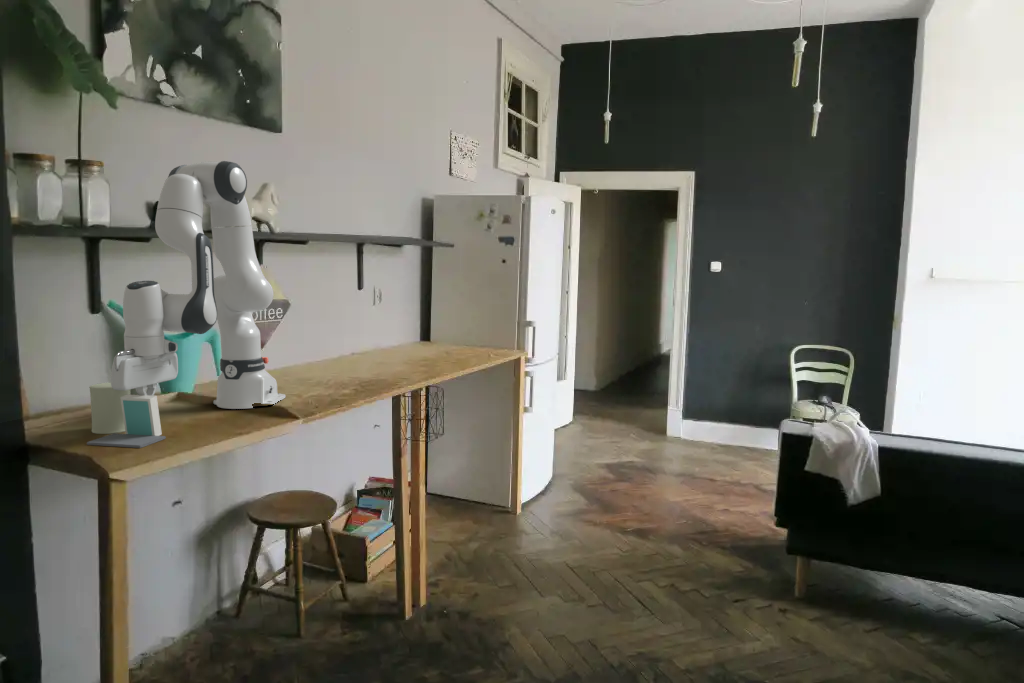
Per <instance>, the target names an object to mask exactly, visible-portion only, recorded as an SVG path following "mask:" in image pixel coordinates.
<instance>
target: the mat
mask: <svg viewBox="0 0 1024 683" xmlns="http://www.w3.org/2000/svg"><path fill="white" fill-rule="evenodd" d="M163 440H166V436H165V435H160V436H152V435H135V434H126V433H113V434H108V435H105V436H102V437H99V438H96V439H92V440H89V441H87V442H86V445H87V446H104V447H115V448H116V447H118V448H119V447H121V448H134V449H135V448H136V449H141V448H144V447H147V446H151V445H153V444H155V443H158V442H161V441H163Z"/></svg>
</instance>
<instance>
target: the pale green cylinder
mask: <svg viewBox="0 0 1024 683" xmlns="http://www.w3.org/2000/svg"><path fill="white" fill-rule="evenodd" d="M89 392H90V393H89V394H90V413H91V433H92V434H97V435H107V434H108V435H111V434H114V433H117V434H121V433H126V432H125V425H124V419H123V412H122V405H121V398H120V397H123V396H125V395H127V394H130V395H131V389H130V390H126V391H120V390H114V389H113V388H112V386H111V382H103V383H96V384H91V385H89Z"/></svg>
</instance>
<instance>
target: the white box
mask: <svg viewBox="0 0 1024 683" xmlns="http://www.w3.org/2000/svg"><path fill="white" fill-rule="evenodd" d="M120 398H121V405H122V412H123V419H124V425H125V432H124V433H125V434H135V435H152V436H163V435H162V434H163V433H162V426H161V419H160V418H161V417H160V410H159V403H158V396H157V395H154V396H152V395H138V394H131V393H130V394H127V395H125V396H123V397H120Z"/></svg>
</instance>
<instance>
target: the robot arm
mask: <svg viewBox="0 0 1024 683" xmlns="http://www.w3.org/2000/svg"><path fill="white" fill-rule="evenodd" d="M246 175H247V174H246V173H245V171H244V170H243V169H242V167H241V166H240V165H239V164H238V163H236V162H233V161H228V160H227V161H226V160H222V161H201V162H199V163H198V162H197V163H191V164H182V165H179V166H176V167H174V168H173V169H172V170H170V172H169V174H168V176H167V178H165V179H166V180H164V181H165V182H164V184H163V186H162V188H161V192H160V196H159V198H158V202H157V207H156V208H157V209H156V214H155V221H154V222H155V223H154V227H155V232H156V235H157V237H158V238H159V239H160V240H161V241H162V243H164V244H165V245H166V246H168V247H170V248H172V249H174V250H176V251H178V252H181V253H183V254H185V255H186V256H187V257H188V258H189V261H190V263H191V264H190V266H191V268H190V269H191V291H190V292H189V293H188V294H184V293H183V294H181V293H180V294H178V293H176V294H175V293H169V292H167V291H165V290H163V289H162V288H161V285H160V282H158V281H154V280H140V281H139V280H138V281H133V282H130V283H128V284H127V285H125V289H124V292H123V299H122V313H123V314H122V316H123V321H124V325H125V329H124V333H123V342H124V344H123V345H124V350H120V351H118V352H117V353H116V354H115V356H114V357H113V362H112V366H111V373H110V374H111V375H110V376H111V377H110V383H111V386H112V388H113V389H114V390H120V391H126V390H130V391H131V390H133V389H135V393H137V394H136V395H152V396H155V395H156V394H155V393H156V391H157V388H158V383H159V384H160V383H164V382H168V381H172V380H175V379H176V378H177V377H178V374H179V360H178V354H177V352H178V348H179V345H178V343H177V342H174V341H171V340H169V339H165V332H173V333H175V332H177V333H188V334H197V335H203V334H205V333H208V332H209V331H210V330H211V328H213V327H214V326H215V324H216V323H217V324H218V327H219V333H220V349H221V350H220V352H221V353H220V354H221V358H220V360H219V367H220V369H219V370H220V372H221V373H220V375H219V376H218V377H217V387H216V388H217V389H216V399H213V404H214V405H216V407H218V408H221V409H229V410H230V409H231V410H236V409H237V410H238V409H239V410H240V409H241V410H242V409H243V410H244V409H245V410H246V409H254V408H253V406H252V404H254V403H261V404H274V405H276V404H278V403H279V402H280V400H281V401H282V400H284V399H285V398H286V394H285V393H278V383H277V380H276V378H274V377H273V376H272V375H271V374H270V373H269V372H268V371H267V370H266V366H265V364H266V365H267V364H268V363H269V357H268V356H265V357H264V356H262V345H261V344H262V342H261V340H262V339H261V331H260V329H259V327H258V325H257V324H256V322H255V320H254V317H253V313H257V312H260V311H263V310H266V309H267V308H268V307H269V306H270V305H271V304H272V302H273V299H274V296H275V295H274V294H275V293H274V288H273V286H272V285H271V283H270V282H269V281H268V280H267V278H266V277H265V275H264V272H263V271H262V270H263V269H262V268H261V264H260V262H259V260H258V258H257V252H256V247H255V241H254V240H255V239H254V233H253V224H252V218H251V213H250V208H249V204H248V201H247V198H246V196H245V194H246V191H247V188H248V179H247V176H246ZM204 204H208V206H209V207H210V227H211V233H212V242H211V240H210V237H208V236H207V235H205V233H204V229H203V217H204V216H203V215H204ZM212 243H213V247H212ZM213 252H214V256H215V258H216V259H217V260H218V261H219V262H220V265H221V267H222V270H223V271H224V274H222V275H219V276H216V277H215V278H214V275H215V273H214V256H213ZM278 401H279V402H278ZM277 402H278V403H277ZM275 403H276V404H275Z"/></svg>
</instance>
